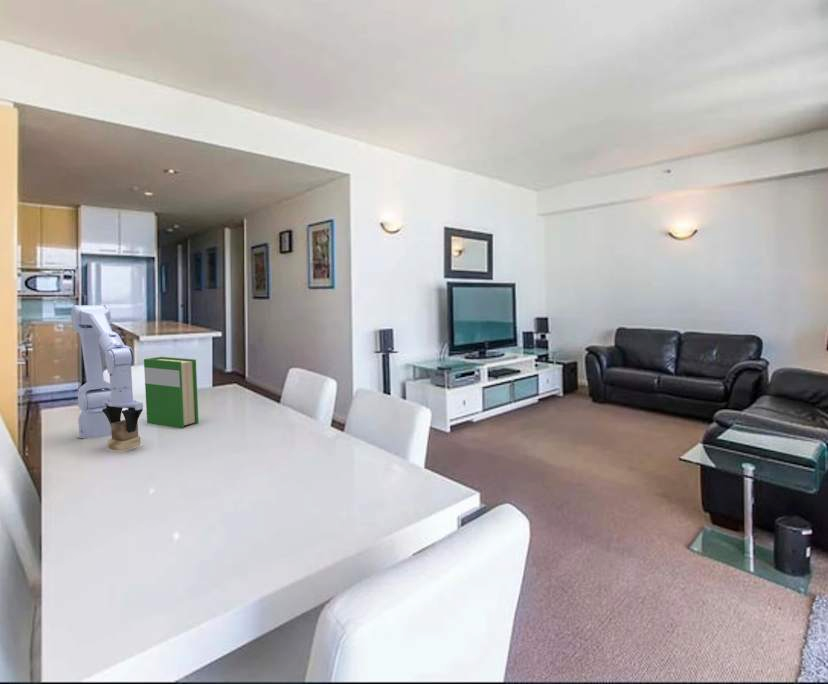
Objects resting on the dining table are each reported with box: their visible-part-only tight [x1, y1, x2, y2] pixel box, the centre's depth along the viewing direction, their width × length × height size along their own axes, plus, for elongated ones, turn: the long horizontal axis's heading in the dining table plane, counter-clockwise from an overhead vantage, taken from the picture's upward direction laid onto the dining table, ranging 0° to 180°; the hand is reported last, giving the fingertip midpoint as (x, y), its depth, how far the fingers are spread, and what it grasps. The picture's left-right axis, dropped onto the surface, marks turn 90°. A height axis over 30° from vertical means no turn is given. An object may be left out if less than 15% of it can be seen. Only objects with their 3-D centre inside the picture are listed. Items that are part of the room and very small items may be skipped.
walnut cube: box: [110, 419, 139, 441], centre depth 147 cm, size 5×5×5 cm
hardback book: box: [143, 356, 199, 429], centre depth 176 cm, size 18×7×24 cm, turn 67°
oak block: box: [107, 435, 142, 452], centre depth 147 cm, size 6×6×3 cm
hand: (123, 430), depth 147 cm, fingers open, 6 cm apart
